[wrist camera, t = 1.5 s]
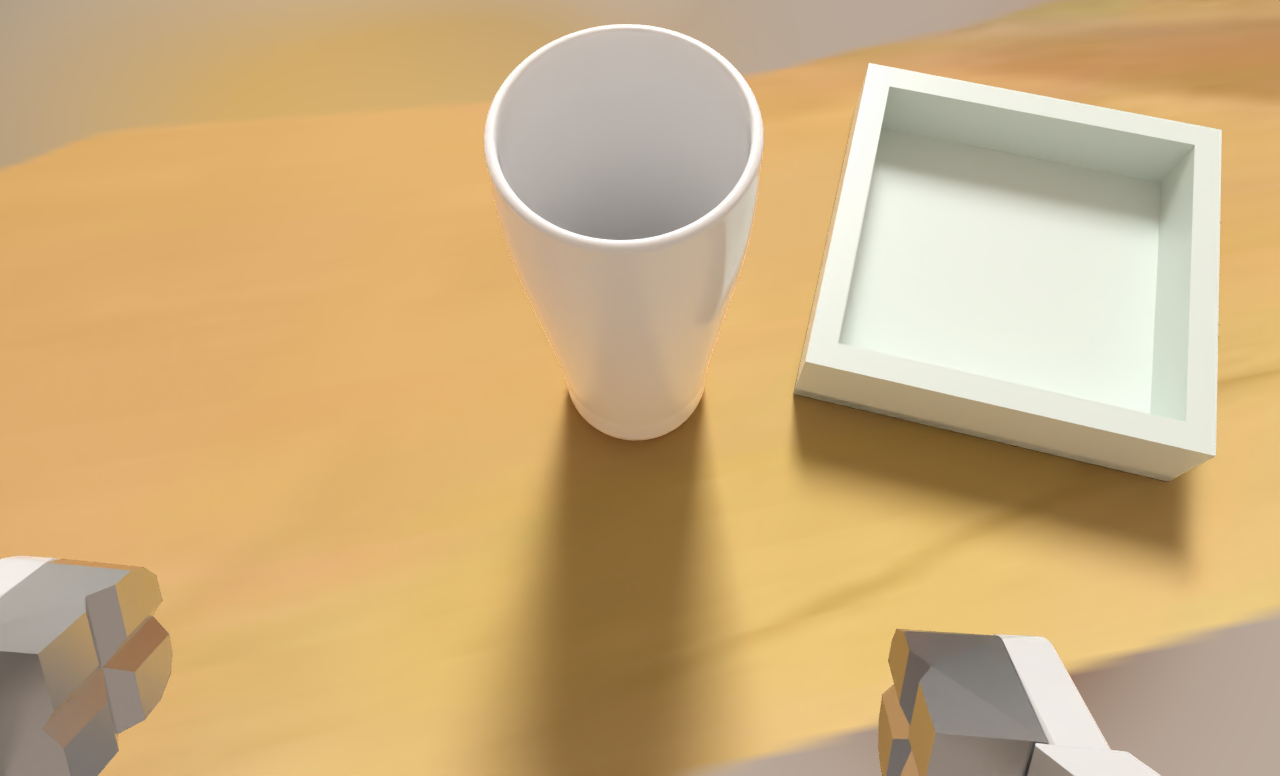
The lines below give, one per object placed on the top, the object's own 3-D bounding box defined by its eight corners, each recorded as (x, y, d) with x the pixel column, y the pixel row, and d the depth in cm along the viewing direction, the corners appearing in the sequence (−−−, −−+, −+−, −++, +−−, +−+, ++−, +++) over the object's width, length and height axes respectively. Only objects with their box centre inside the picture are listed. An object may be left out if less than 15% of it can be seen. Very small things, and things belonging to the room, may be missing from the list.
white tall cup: (539, 318, 36) (465, 39, 22) (704, 292, 36) (735, 1, 22) (562, 477, 33) (494, 274, 19) (739, 448, 33) (798, 227, 20)
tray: (793, 393, 34) (805, 361, 31) (854, 111, 39) (869, 62, 37) (1168, 481, 33) (1215, 456, 30) (1180, 176, 38) (1221, 129, 35)
